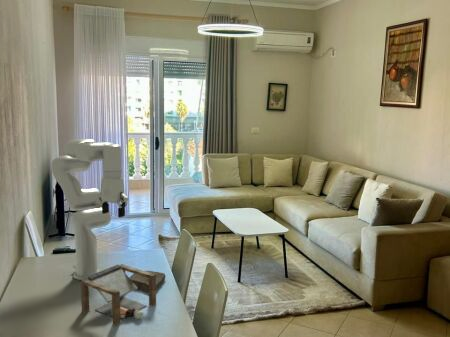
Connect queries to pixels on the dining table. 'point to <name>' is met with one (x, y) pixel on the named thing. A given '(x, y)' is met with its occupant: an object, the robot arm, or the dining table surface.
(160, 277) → the marble piece
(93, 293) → the dining table surface
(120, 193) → the robot arm
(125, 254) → the dining table surface
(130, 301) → the frame
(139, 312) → the grandmother figurine
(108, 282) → the trapdoor plate
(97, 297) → the dining table surface
